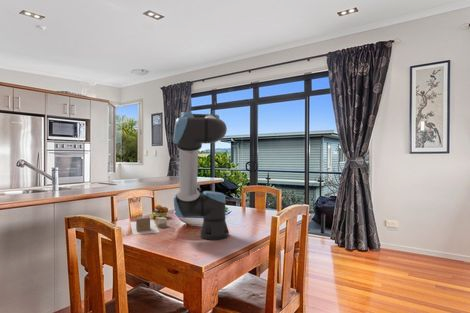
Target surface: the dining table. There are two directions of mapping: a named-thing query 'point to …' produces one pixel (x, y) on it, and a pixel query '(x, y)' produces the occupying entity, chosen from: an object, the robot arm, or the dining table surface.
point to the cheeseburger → (159, 214)
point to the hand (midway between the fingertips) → (186, 176)
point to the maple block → (161, 222)
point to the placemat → (152, 230)
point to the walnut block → (143, 223)
